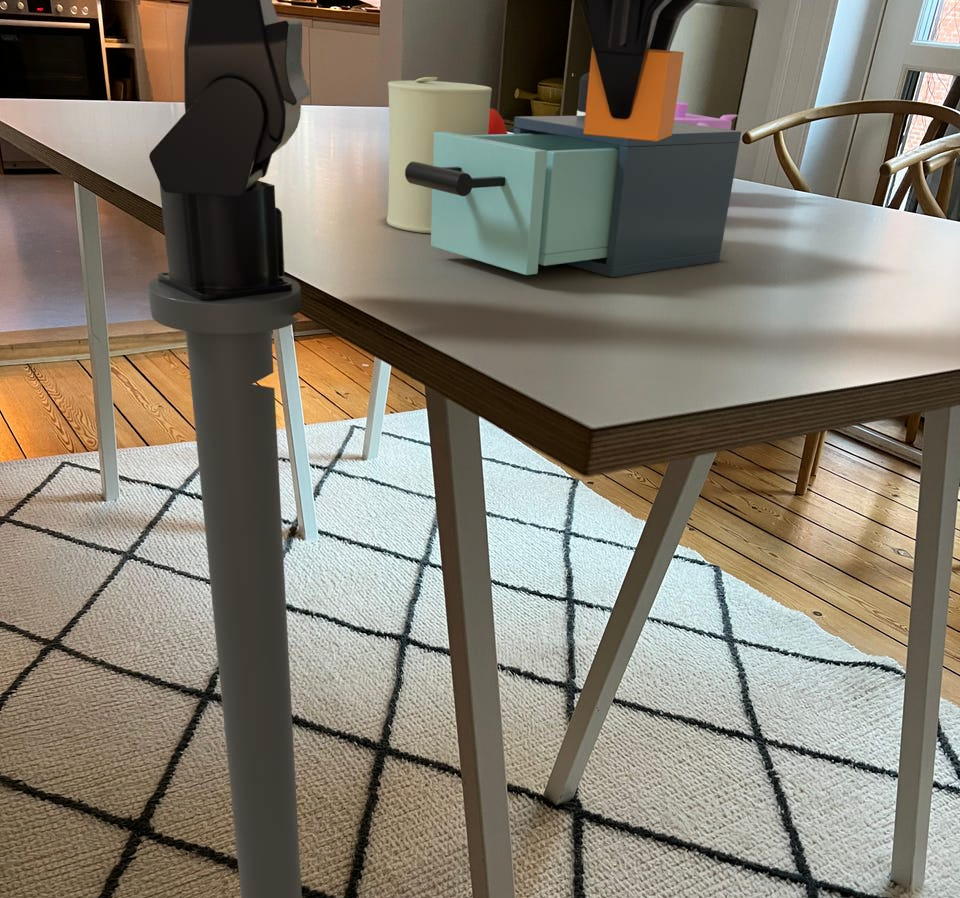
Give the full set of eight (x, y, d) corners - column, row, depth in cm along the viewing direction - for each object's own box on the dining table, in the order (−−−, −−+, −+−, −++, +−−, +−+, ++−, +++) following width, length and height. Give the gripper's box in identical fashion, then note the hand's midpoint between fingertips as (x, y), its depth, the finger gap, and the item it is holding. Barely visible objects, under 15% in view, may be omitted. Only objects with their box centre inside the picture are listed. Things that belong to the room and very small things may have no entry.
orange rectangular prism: (657, 141, 59) (669, 52, 56) (582, 134, 60) (591, 46, 58) (672, 135, 62) (684, 51, 60) (601, 129, 64) (610, 46, 61)
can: (453, 213, 100) (458, 75, 94) (503, 231, 93) (513, 84, 87) (369, 218, 96) (369, 73, 89) (416, 236, 89) (419, 81, 83)
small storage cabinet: (611, 277, 80) (629, 135, 74) (505, 247, 87) (514, 116, 82) (719, 261, 87) (741, 131, 82) (612, 234, 95) (627, 114, 90)
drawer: (477, 282, 72) (483, 153, 67) (382, 251, 79) (383, 133, 74) (639, 259, 82) (654, 146, 77) (542, 234, 89) (551, 128, 84)
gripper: (816, -266, 43) (744, 142, 51) (840, -186, 58) (781, 118, 66) (564, -264, 46) (534, 121, 54) (650, -189, 61) (616, 103, 69)
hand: (629, 116), depth 61 cm, fingers closed on orange rectangular prism, 4 cm apart
